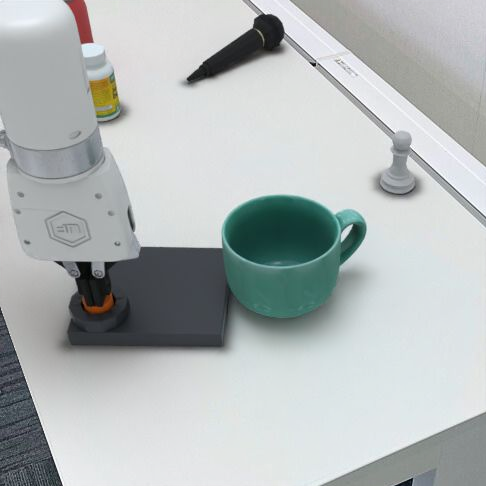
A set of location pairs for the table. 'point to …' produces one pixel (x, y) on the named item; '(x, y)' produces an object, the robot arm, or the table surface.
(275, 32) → the microphone
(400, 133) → the chess piece
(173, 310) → the scale
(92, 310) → the button
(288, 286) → the mug
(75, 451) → the table surface
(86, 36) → the beer can
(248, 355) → the table surface
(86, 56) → the supplement bottle
